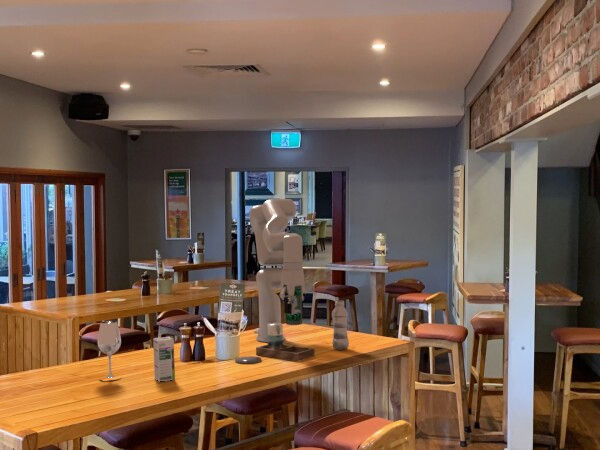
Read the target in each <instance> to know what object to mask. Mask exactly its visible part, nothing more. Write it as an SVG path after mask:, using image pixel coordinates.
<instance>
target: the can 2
mask: <svg viewBox="0 0 600 450" xmlns="http://www.w3.org/2000/svg"><path fill="white" fill-rule="evenodd" d="M287 295H288V294H287ZM288 298H289V297H287V299H288ZM290 303H291V308H292V313H291V314H286V313H285V325H287V326H298V325H302V324H303V311H302V285H301V286H295V292H294V296H292V298H291V302H290Z"/></svg>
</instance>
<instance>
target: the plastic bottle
mask: <svg viewBox="0 0 600 450" xmlns="http://www.w3.org/2000/svg"><path fill="white" fill-rule="evenodd" d="M334 306H335V307H334V308H333V309H332V311H331V318H332V325H333V335H332V336H333V337H332V343H331V344H332V347H333V348H334V350H339V351H343V350H348V348H349V344H350V343H349V342H350V341H349V338H348V316H349V313H348V310H347V309H346V307H345V300H342V299H341V300H340V299H339V300H335V301H334Z"/></svg>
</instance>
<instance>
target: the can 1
mask: <svg viewBox="0 0 600 450" xmlns="http://www.w3.org/2000/svg"><path fill="white" fill-rule="evenodd" d="M283 326H284V324H283V323H282V322H281V323H270V324H268V342H267V344H268V349H274V350H278V349H282V348H283V344H284V340H283V336H284V334H283V332H284V330H283Z"/></svg>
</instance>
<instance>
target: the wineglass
mask: <svg viewBox="0 0 600 450" xmlns="http://www.w3.org/2000/svg"><path fill="white" fill-rule="evenodd" d="M121 344H122V338H121V332H120V328H119V324H118V321H117V320H104V321H101V322H100V324H99V329H98V335H97V346H98V349H99V350H100V352H101V353H103V354H105V355H106V356H107V358H108V371H109V372H108V374H107V375H105V376H106V377H107V378H113V377H115V376H114V375H115V374H112V373H113V372H112V356H113V354H114V355H115V353H116V352H118V351H119V349H120V348H121Z"/></svg>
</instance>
